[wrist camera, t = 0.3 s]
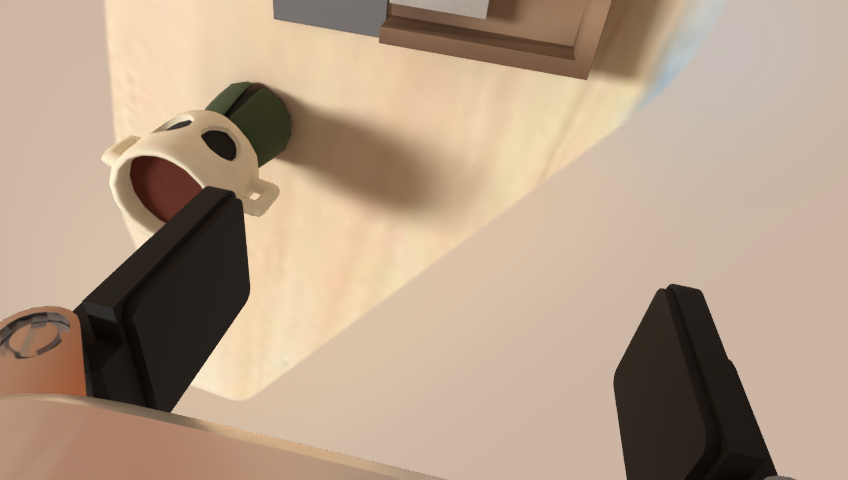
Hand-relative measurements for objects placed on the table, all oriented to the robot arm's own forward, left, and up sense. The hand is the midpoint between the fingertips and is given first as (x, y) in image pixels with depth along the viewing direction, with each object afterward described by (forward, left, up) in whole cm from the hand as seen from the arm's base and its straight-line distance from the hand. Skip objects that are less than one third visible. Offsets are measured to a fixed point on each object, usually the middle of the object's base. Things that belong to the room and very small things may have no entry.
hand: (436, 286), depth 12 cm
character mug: (+11, -18, -28) cm, 35 cm away
